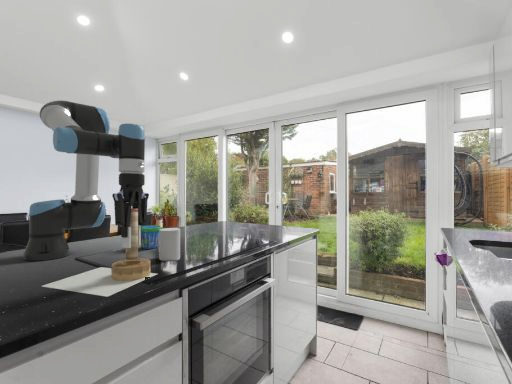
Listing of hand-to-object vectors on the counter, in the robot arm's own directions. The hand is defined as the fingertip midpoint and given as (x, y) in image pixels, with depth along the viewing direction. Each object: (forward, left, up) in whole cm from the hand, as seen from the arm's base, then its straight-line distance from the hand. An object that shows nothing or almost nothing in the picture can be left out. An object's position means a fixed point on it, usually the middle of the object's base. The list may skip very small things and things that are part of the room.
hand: (131, 246), depth 86 cm
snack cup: (-24, +38, -10) cm, 46 cm away
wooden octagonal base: (0, 0, -9) cm, 9 cm away
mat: (-5, -6, -10) cm, 13 cm away
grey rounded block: (-2, +23, -10) cm, 25 cm away
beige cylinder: (0, 0, -4) cm, 4 cm away
